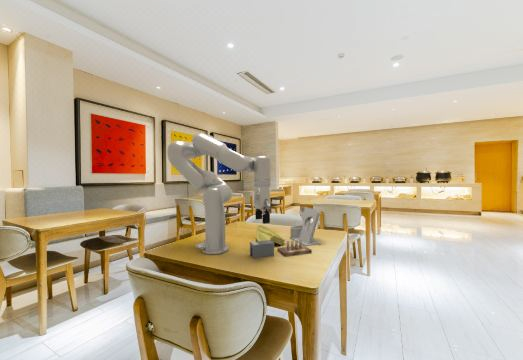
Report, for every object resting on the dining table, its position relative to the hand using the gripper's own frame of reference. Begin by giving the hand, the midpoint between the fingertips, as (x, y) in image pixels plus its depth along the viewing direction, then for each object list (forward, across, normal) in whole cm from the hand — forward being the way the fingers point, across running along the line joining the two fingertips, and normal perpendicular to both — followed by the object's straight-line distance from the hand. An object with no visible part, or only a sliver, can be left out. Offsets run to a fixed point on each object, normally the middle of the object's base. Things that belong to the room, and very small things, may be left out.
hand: (262, 221), depth 107 cm
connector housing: (+16, 0, 0) cm, 16 cm away
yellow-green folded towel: (+16, -19, +11) cm, 27 cm away
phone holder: (+16, -14, +30) cm, 37 cm away
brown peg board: (+16, +1, +16) cm, 22 cm away
